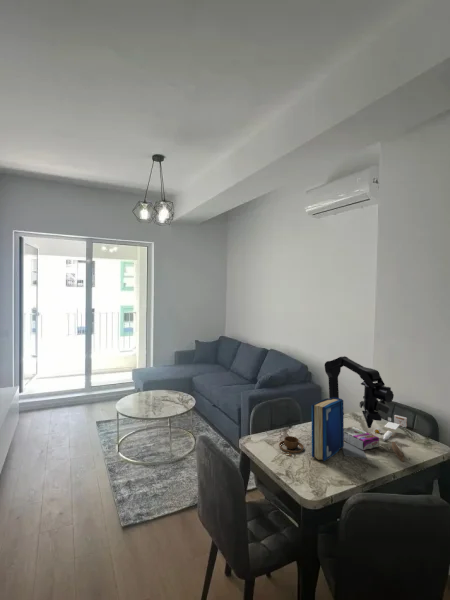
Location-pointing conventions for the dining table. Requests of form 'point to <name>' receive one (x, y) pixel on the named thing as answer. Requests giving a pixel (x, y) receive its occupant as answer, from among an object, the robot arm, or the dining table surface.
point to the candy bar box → (360, 438)
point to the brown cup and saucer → (291, 444)
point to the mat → (353, 451)
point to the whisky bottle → (393, 425)
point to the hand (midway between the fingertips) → (369, 427)
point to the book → (327, 428)
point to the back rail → (398, 452)
